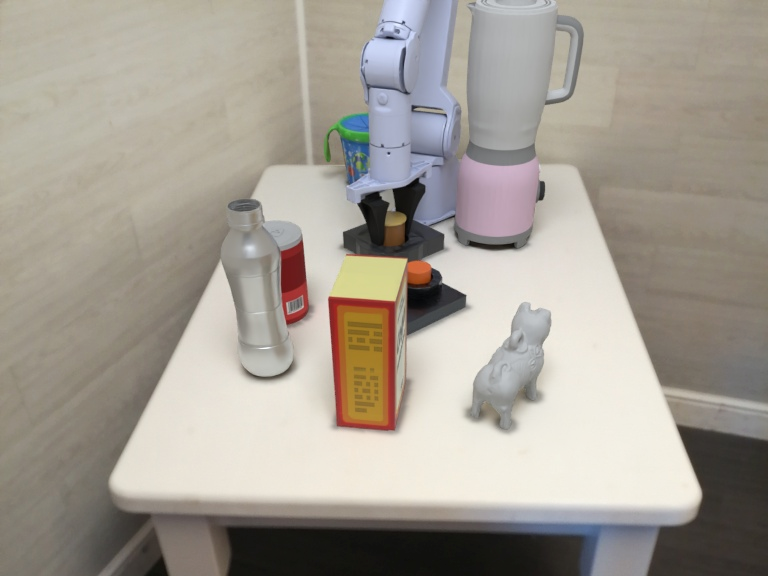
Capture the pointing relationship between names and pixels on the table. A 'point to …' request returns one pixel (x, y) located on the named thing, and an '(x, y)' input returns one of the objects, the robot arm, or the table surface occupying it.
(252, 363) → the plastic bottle
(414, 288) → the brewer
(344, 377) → the baking soda box
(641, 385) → the table surface
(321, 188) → the table surface
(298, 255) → the canned food
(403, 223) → the coffee pod
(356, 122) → the snack cup
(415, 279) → the button
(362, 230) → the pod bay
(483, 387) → the dog figurine
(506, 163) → the blender
